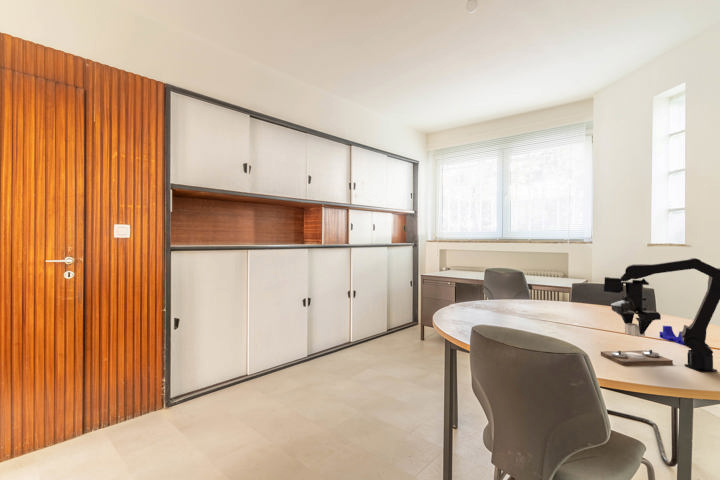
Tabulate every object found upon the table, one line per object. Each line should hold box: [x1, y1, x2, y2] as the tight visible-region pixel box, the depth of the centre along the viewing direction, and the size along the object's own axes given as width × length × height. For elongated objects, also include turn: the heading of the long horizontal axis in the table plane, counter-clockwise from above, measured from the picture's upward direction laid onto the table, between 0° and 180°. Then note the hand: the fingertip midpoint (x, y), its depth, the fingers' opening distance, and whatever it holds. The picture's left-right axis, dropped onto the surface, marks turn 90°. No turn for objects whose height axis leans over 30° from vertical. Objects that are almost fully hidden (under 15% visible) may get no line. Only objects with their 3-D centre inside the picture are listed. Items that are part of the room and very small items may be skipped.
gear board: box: [600, 350, 674, 366], centre depth 138 cm, size 12×20×2 cm, turn 91°
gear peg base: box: [611, 349, 660, 358], centre depth 138 cm, size 5×18×2 cm, turn 91°
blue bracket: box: [659, 325, 686, 346], centre depth 162 cm, size 12×4×6 cm, turn 171°
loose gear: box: [624, 322, 646, 338], centre depth 140 cm, size 6×6×4 cm
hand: (634, 331), depth 140 cm, fingers closed on loose gear, 6 cm apart
